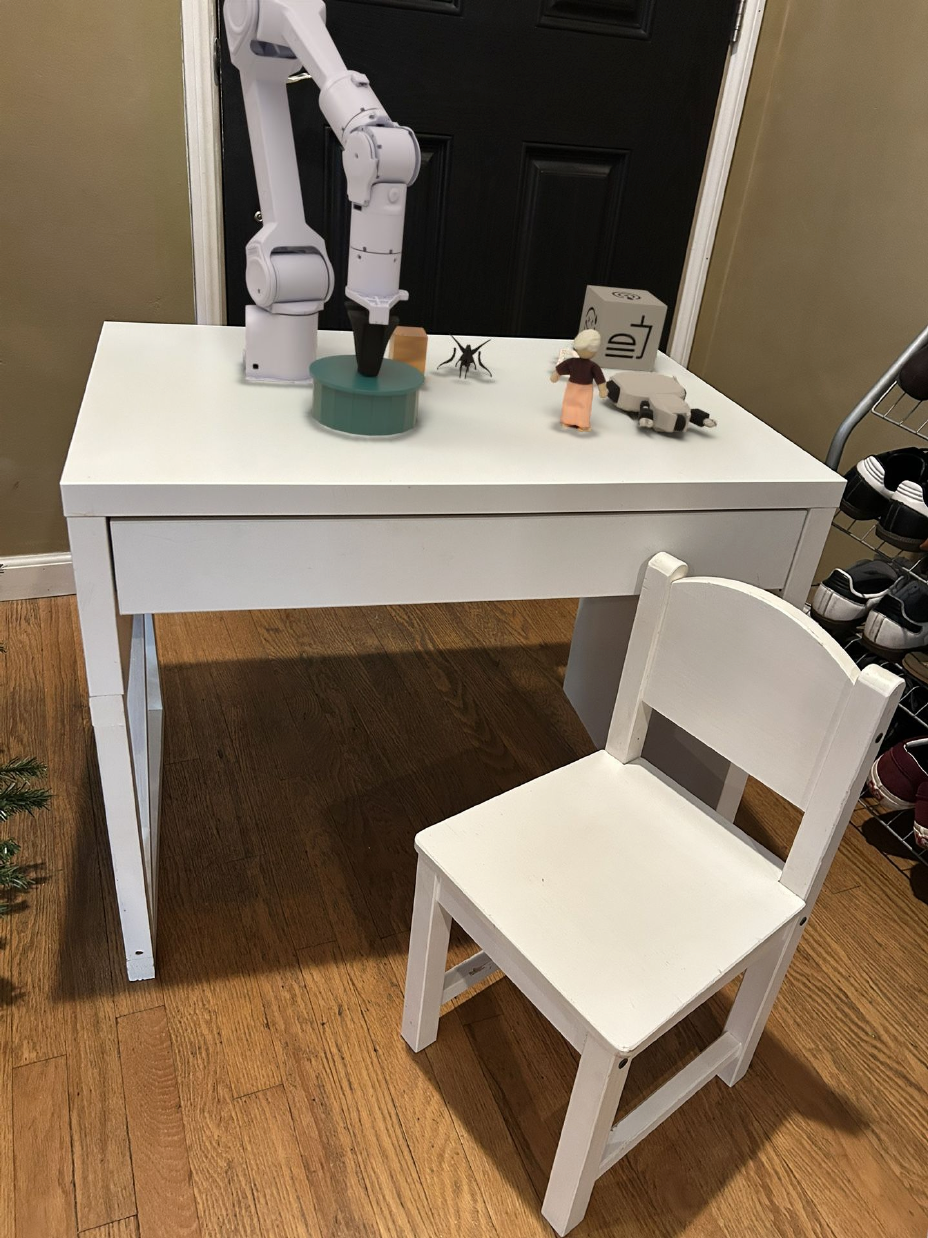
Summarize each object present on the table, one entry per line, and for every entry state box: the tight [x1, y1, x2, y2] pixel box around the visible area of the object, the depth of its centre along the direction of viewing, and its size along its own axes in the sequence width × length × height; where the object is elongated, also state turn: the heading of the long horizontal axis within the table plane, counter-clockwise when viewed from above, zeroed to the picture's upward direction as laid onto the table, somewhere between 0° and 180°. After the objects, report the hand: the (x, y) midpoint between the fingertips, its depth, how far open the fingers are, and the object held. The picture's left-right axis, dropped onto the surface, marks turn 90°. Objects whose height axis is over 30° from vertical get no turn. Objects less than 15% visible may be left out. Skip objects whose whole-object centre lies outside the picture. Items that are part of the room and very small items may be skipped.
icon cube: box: [578, 284, 668, 372], centre depth 149 cm, size 10×10×10 cm
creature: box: [436, 333, 493, 380], centre depth 133 cm, size 8×5×8 cm
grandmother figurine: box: [549, 329, 608, 432], centre depth 117 cm, size 8×4×13 cm, turn 71°
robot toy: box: [606, 371, 718, 433], centre depth 126 cm, size 12×4×15 cm
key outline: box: [555, 348, 595, 382], centre depth 142 cm, size 13×5×2 cm, turn 11°
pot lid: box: [309, 354, 426, 396], centre depth 110 cm, size 14×14×5 cm
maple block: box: [387, 325, 429, 376], centre depth 127 cm, size 4×4×7 cm
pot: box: [311, 379, 421, 437], centre depth 113 cm, size 12×13×6 cm
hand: (367, 370), depth 111 cm, fingers closed on pot lid, 2 cm apart
